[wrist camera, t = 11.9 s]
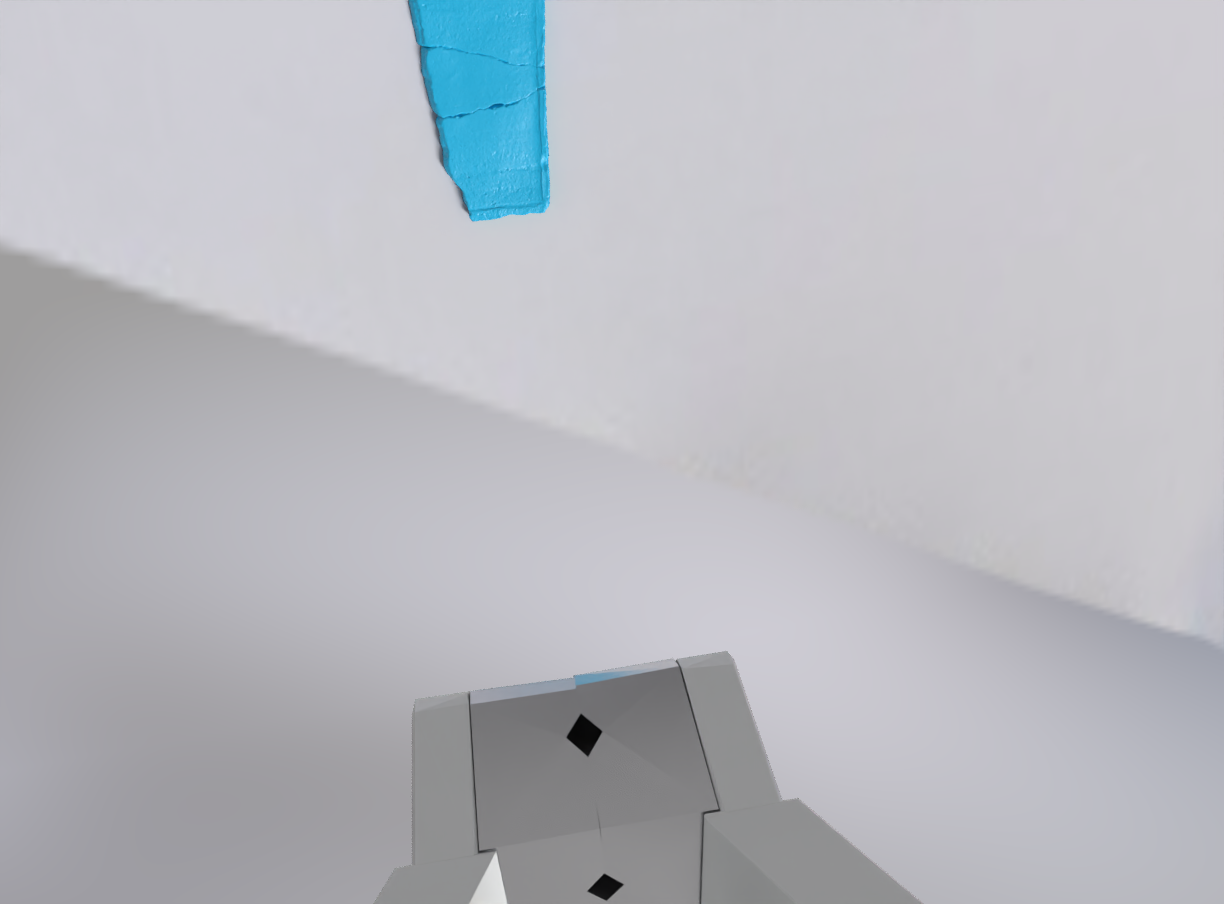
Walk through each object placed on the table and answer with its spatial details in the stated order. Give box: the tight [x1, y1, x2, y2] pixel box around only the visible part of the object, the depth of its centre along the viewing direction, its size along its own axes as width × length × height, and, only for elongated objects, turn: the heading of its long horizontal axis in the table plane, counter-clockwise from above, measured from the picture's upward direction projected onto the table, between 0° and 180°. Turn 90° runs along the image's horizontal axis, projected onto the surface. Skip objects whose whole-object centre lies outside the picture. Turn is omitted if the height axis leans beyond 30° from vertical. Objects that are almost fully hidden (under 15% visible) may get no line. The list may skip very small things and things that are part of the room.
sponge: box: [408, 0, 550, 221], centre depth 42 cm, size 2×12×6 cm
